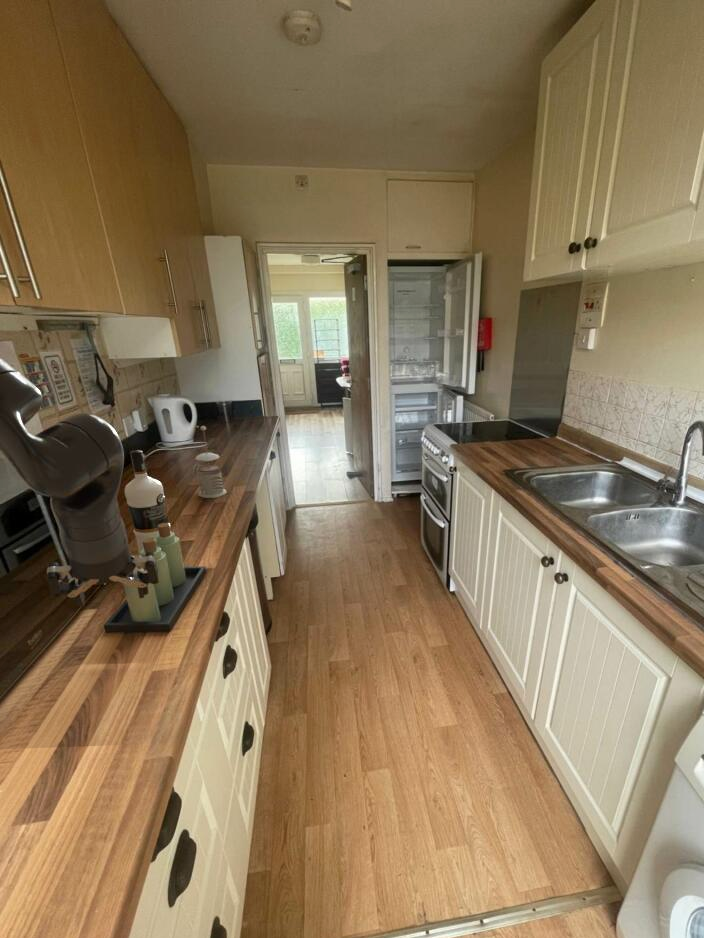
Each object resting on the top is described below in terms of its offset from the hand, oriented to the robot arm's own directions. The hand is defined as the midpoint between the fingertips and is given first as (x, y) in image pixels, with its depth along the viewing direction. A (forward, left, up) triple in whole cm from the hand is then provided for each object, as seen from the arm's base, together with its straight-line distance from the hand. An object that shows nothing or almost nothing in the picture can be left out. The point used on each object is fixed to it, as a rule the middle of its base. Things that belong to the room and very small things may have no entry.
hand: (112, 597), depth 72 cm
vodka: (-11, +39, -16) cm, 43 cm away
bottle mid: (-3, +21, -15) cm, 26 cm away
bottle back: (-3, +28, -15) cm, 32 cm away
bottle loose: (-3, +13, -15) cm, 20 cm away
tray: (-3, +21, -15) cm, 26 cm away
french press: (-13, +89, -16) cm, 91 cm away
